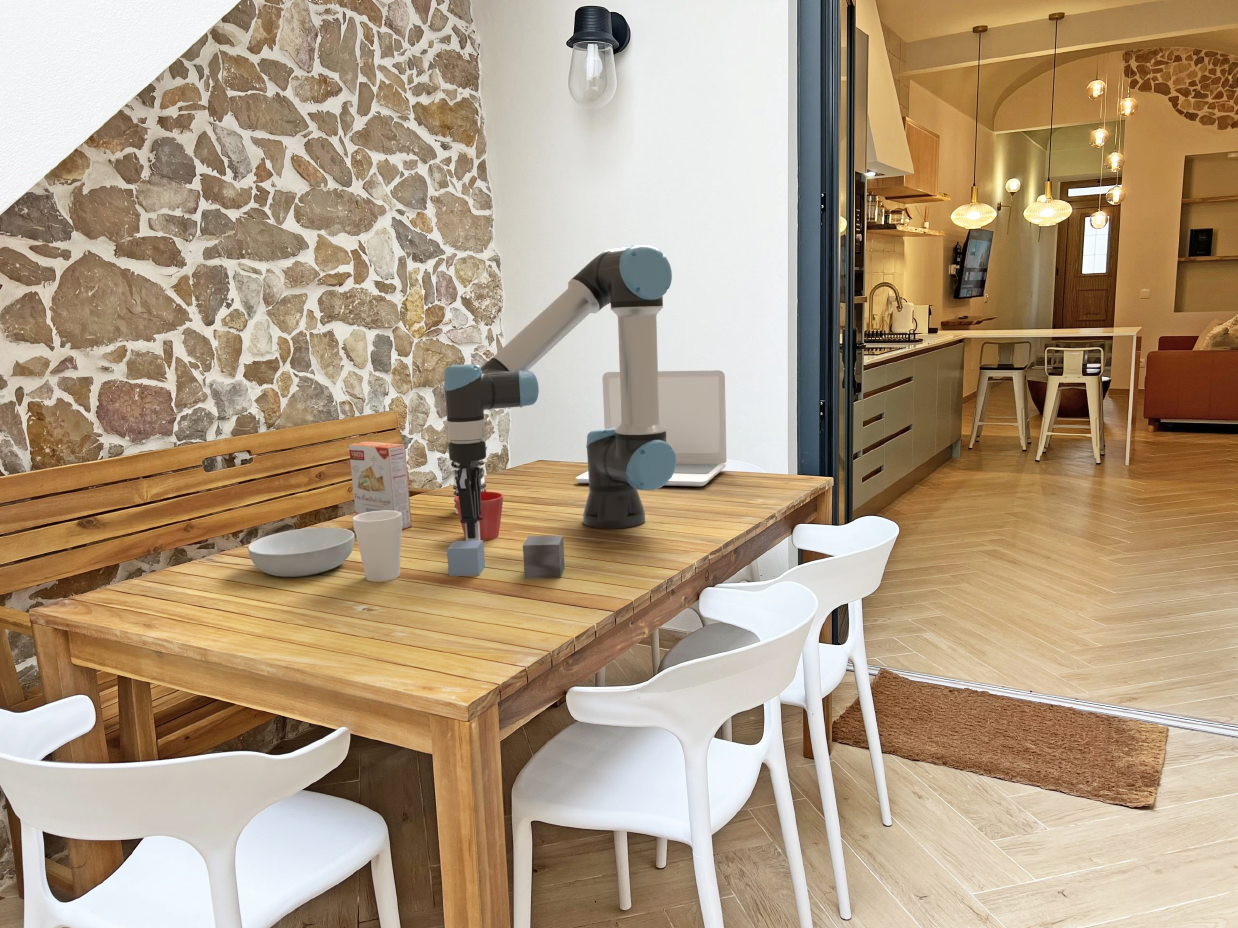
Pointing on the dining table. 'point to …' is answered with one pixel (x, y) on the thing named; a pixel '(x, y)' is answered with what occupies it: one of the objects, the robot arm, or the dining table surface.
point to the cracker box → (380, 478)
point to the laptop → (682, 421)
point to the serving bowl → (302, 551)
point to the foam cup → (379, 543)
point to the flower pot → (487, 514)
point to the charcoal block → (543, 557)
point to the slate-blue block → (466, 558)
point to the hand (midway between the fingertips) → (474, 551)
